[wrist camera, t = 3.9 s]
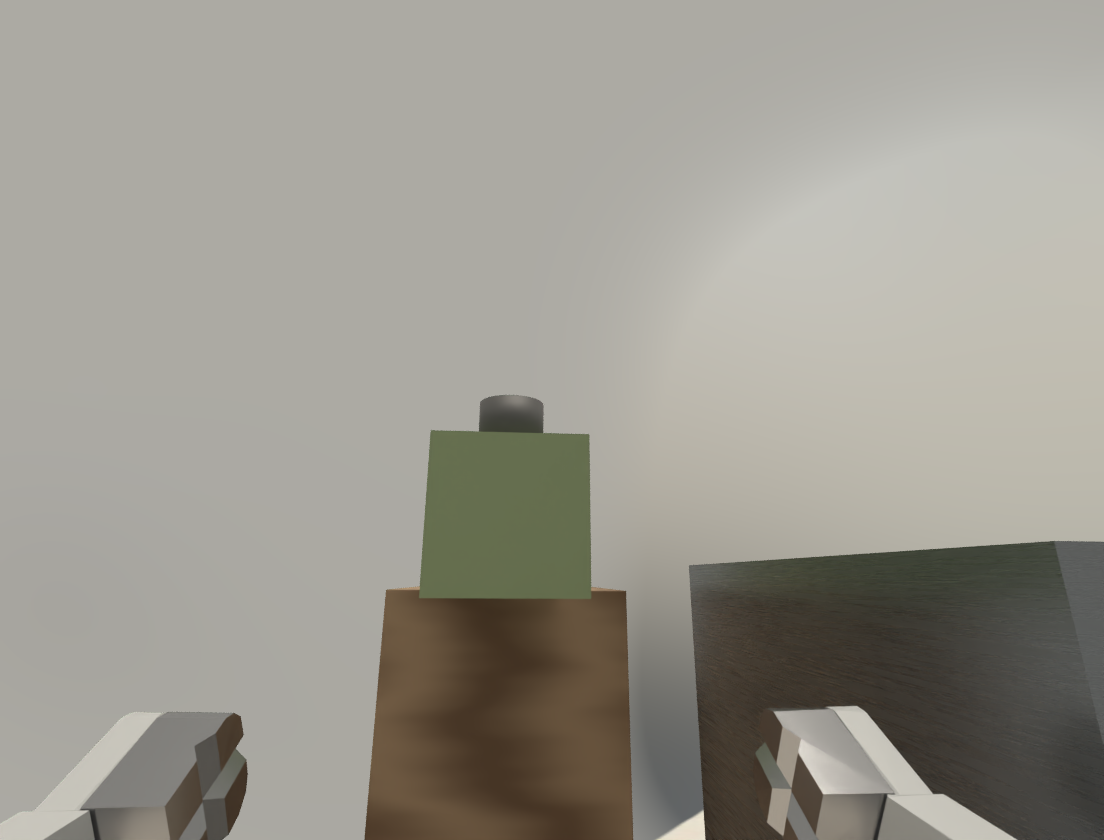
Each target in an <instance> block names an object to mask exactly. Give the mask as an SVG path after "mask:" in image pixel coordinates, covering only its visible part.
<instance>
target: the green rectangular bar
mask: <svg viewBox="0 0 1104 840" xmlns="http://www.w3.org/2000/svg"><path fill="white" fill-rule="evenodd" d="M589 458H590V454H589V434H555V433H553V434H552V433H543V403H542V402H541V401H539V400H537V399H534V398H531V397H526V396H519V395H499V396H493V397H488V398H486V399H484V400H482V401H481V402H480V422H479V432H473V431H435V430H432V431H431V435H430V450H429V463H428V478H427V492H426V506H425V520H424V534H423V548H422V550H423V551H422V564H421V578H420V591H419V598H499V599H591V538H590V463H589V462H590V459H589Z"/></svg>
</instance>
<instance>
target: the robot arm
mask: <svg viewBox="0 0 1104 840" xmlns="http://www.w3.org/2000/svg"><path fill="white" fill-rule="evenodd" d="M758 730H759V731H760V733H761V735H762V737H763V739H764V741H765V742H764V744H763V745H762V746H761V747H760V748H759V749H758V750H757V751H756V752H755V756H754V765H753V776H754V784H755V792H756V795H757V798H758V802H759V805H760V808H761V810H762V812H763V814H764V817H765V819H766V821H767V823H768V824H769V825H770V826H772V827H773V828H774V829H775V830H776V831H778V832H779V833H780V834H781V835H782V836H783V840H1017V839H1015V838H1013V837H1012V836H1010V835H1009V834H1007V833H1005V832H1004V831H1002V830H1001V829H999V828H997V827H996V826H994V825H992V824H991V823H989V822H988V821H986V820H984V819H983V818H981V817H980V816H978V815H976V814H975V813H973V812H972V811H970V810H968V809H967V808H965V807H963V806H962V805H960V804H959V803H957V802H955V801H954V800H952V799H951V798H949V797H947V796H946V795H944V794H933V793H932V792H931V791H930V789H929V788H928V787H927V786H926V785H925V783H924V782H923V781H922V780H921V779H920V777H919V776H918V775H917V774H916V772H915V771H914V770H913V769H912V768H911V766H910V765H909V764H908V763H907V761H906V760H905V759H904V758H903V757H902V755H901V754H900V753H899V752H898V751H897V749H896V748H895V747H894V746H893V744H892V743H891V742H890V741H889V740H888V738H887V737H886V736H885V735H884V734H883V732H882V731H881V730H880V729H879V727H878V726H877V725H876V724H875V723H874V721H873V720H872V719H871V718H870V716H869V715H868V714H867V713H866V712H865V711H864V710H862V709H861V708H859V707H858V706H837V707H825V708H822V707H818V708H765V709H764V711H763V713H762V714H761V717H760V723H759V729H758ZM242 737H243V728H242V722H241V716H239V715H237V714H235V713H201V712H196V713H195V712H167V713H155V712H132V713H130V714H128V715H126V716H124V717H122V718H121V719H120V720H119V721H118V722H117V723H116V724H115V725H114V726H113V727H112V728H111V729H110V730H109V731H108V732H107V733H106V734H105V735H104V737H103V738H102V739H101V740H100V741H99V742H98V743H97V744H96V745H95V746H94V747H93V748H92V749H91V751H90V752H89V753H88V754H87V755H86V756H85V757H84V758H83V759H82V760H81V761H80V762H79V763H78V764H77V765H76V766H75V768H73V770H72V771H71V772H70V773H69V774H68V775H67V776H66V777H65V778H64V779H63V780H62V781H61V782H60V783H59V785H58V786H57V787H56V788H55V789H54V790H53V791H52V792H51V793H50V794H49V796H47V797H46V798H45V799H44V800H43V802H42V803H41V804H40V805H39V806H38V807H37V808H36V809H35V810H34V811H29V812H20V813H18V814H16V815H14V816H13V817H11V818H9V819H8V820H6V821H4V822H2V823H0V840H222V839H224V838H225V837H226V836H227V835H229V833H230V831H231V829H232V827H233V825H234V823H235V821H236V819H237V817H238V815H239V812H240V809H241V806H242V802H243V799H244V796H245V792H246V785H247V775H248V773H247V762H246V759H245V758H244V757H243V756H242V755H241V754H240V753H239V752H238V751H237V750H236V749H235V748H236V746H237V745H238V743H239V742H240V740H241V738H242Z"/></svg>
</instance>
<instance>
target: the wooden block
mask: <svg viewBox="0 0 1104 840" xmlns="http://www.w3.org/2000/svg"><path fill="white" fill-rule="evenodd" d="M419 591H420V586H419V587H409V588H399V589H389V590H386V597H385V609H384V620H383V632H382V645H381V656H380V666H379V679H378V691H377V701H376V713H375V724H374V737H373V747H372V759H371V771H370V782H369V795H368V805H367V816H366V828H365V840H633V818H632V817H633V816H632V783H631V748H630V715H629V679H628V649H627V648H628V647H627V646H628V645H627V613H626V612H627V611H626V591H621V590H612V589H603V588H596V587H591V599H499V598H419Z"/></svg>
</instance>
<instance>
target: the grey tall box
mask: <svg viewBox="0 0 1104 840" xmlns="http://www.w3.org/2000/svg"><path fill="white" fill-rule="evenodd" d="M689 573H690V590H691V607H692V622H693V639H694V655H695V673H696V690H697V705H698V723H699V738H700V755H701V771H702V789H703V805H704V822H705V839H706V840H783V836H782V835H781V834H780V833H779V832H778V831H776V830H775V829H774V828H773V827H772V826H770V825H769V824H768V823H767V821H766V819H765V817H764V814H763V812H762V810H761V808H760V805H759V802H758V798H757V795H756V792H755V784H754V776H753V765H754V756H755V752H756V751H757V750H758V749H759V748H760V747H761V746H762V745H763V744H764V742H765V741H764V739H763V737H762V735H761V733H760V731H759V730H758V729H759V723H760V717H761V714H762V713H763V711H764V709H765V708H818V707H822V708H825V707H837V706H858V707H859V708H861V709H862V710H864V711H865V712H866V713H867V714H868V715H869V716H870V718H871V719H872V720H873V721H874V723H875V724H876V725H877V726H878V727H879V729H880V730H881V731H882V732H883V734H884V735H885V736H886V737H887V738H888V740H889V741H890V742H891V743H892V744H893V746H894V747H895V748H896V749H897V751H898V752H899V753H900V754H901V755H902V757H903V758H904V759H905V760H906V761H907V763H908V764H909V765H910V766H911V768H912V769H913V770H914V771H915V772H916V774H917V775H918V776H919V777H920V779H921V780H922V781H923V782H924V783H925V785H926V786H927V787H928V788H929V789H930V791H931V792H932V793H933V794H944V795H946V796H947V797H949V798H951V799H952V800H954V801H955V802H957V803H959V804H960V805H962V806H963V807H965V808H967V809H968V810H970V811H972V812H973V813H975V814H976V815H978V816H980V817H981V818H983V819H984V820H986V821H988V822H989V823H991V824H992V825H994V826H996V827H997V828H999V829H1001V830H1002V831H1004V832H1005V833H1007V834H1009V835H1010V836H1012V837H1013V838H1015V839H1017V840H1104V542H1077V541H1076V542H1075V541H1073V542H1072V541H1050V542H1035V543H1020V544H1006V545H990V546H976V547H962V548H961V547H960V548H945V549H930V550H915V551H900V552H886V553H870V554H854V555H839V556H824V557H811V558H794V559H781V560H767V561H765V560H764V561H750V562H735V563H720V564H704V565H690V566H689Z"/></svg>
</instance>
